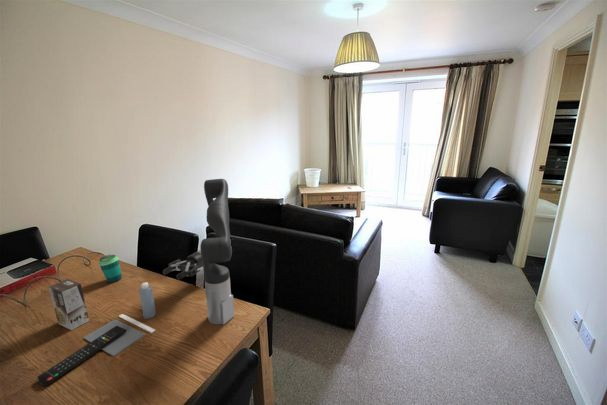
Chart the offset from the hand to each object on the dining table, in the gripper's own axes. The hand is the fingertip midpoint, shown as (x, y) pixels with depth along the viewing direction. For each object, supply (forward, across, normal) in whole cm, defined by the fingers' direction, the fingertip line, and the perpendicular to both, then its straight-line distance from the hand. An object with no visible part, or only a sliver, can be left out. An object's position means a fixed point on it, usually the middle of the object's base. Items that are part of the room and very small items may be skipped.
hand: (170, 275), depth 118 cm
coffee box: (+28, -22, +12) cm, 37 cm away
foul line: (+17, 0, +12) cm, 21 cm away
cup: (+3, -41, +13) cm, 43 cm away
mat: (+25, 0, +12) cm, 28 cm away
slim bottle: (+12, 0, +12) cm, 17 cm away
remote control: (+34, +1, +11) cm, 36 cm away
